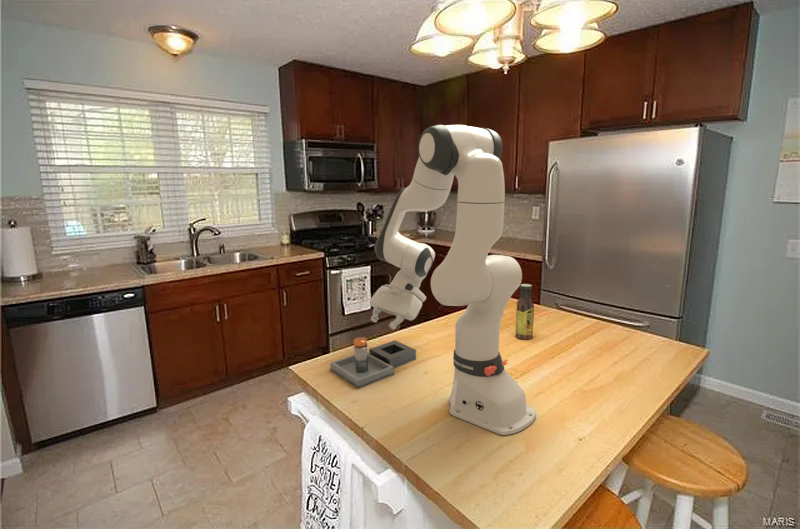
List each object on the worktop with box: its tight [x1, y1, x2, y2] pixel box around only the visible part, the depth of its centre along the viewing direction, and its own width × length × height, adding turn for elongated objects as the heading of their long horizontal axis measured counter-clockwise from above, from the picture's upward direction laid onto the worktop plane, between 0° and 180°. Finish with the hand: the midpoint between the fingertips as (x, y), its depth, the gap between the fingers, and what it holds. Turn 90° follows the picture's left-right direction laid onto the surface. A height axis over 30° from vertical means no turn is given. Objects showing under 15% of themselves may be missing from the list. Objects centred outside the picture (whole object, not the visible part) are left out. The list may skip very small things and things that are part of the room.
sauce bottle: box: [514, 283, 535, 340], centre depth 149 cm, size 7×6×20 cm
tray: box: [329, 352, 395, 390], centre depth 127 cm, size 16×13×2 cm
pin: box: [353, 336, 369, 373], centre depth 126 cm, size 4×4×10 cm
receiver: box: [368, 339, 417, 369], centre depth 135 cm, size 11×11×4 cm
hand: (382, 324), depth 129 cm, fingers open, 8 cm apart
